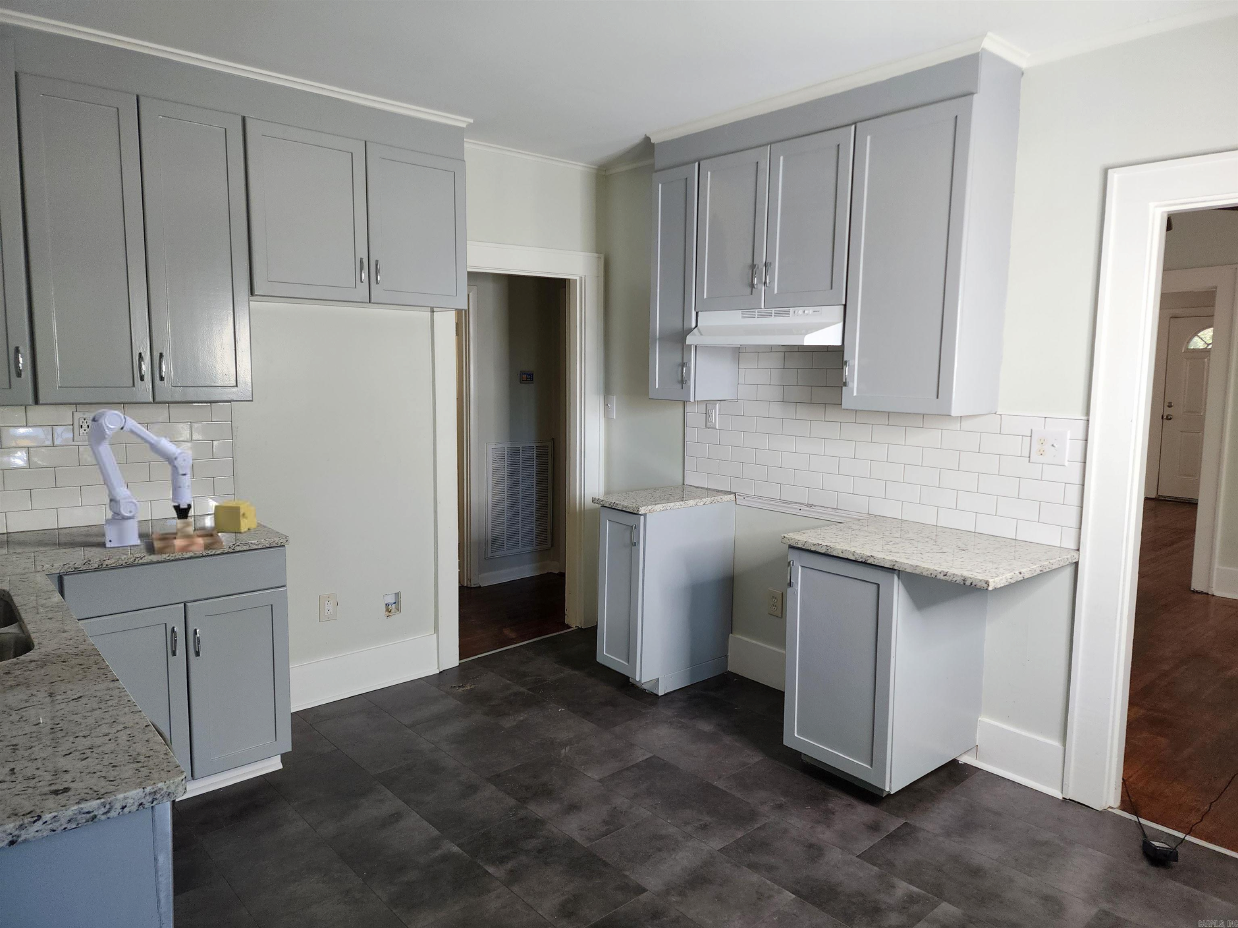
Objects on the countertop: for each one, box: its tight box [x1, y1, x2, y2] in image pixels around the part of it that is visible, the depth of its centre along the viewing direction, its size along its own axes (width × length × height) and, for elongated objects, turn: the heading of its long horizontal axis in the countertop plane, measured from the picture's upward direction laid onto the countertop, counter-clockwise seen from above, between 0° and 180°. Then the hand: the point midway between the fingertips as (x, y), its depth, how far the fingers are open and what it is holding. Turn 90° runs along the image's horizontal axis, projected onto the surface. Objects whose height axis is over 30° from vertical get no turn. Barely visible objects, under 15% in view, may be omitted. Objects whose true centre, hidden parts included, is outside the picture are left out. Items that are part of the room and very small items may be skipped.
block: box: [175, 518, 194, 535], centre depth 273 cm, size 4×4×4 cm
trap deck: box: [151, 528, 224, 556], centre depth 267 cm, size 19×22×2 cm
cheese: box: [213, 499, 258, 533], centre depth 293 cm, size 10×11×10 cm
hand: (182, 525), depth 280 cm, fingers closed
